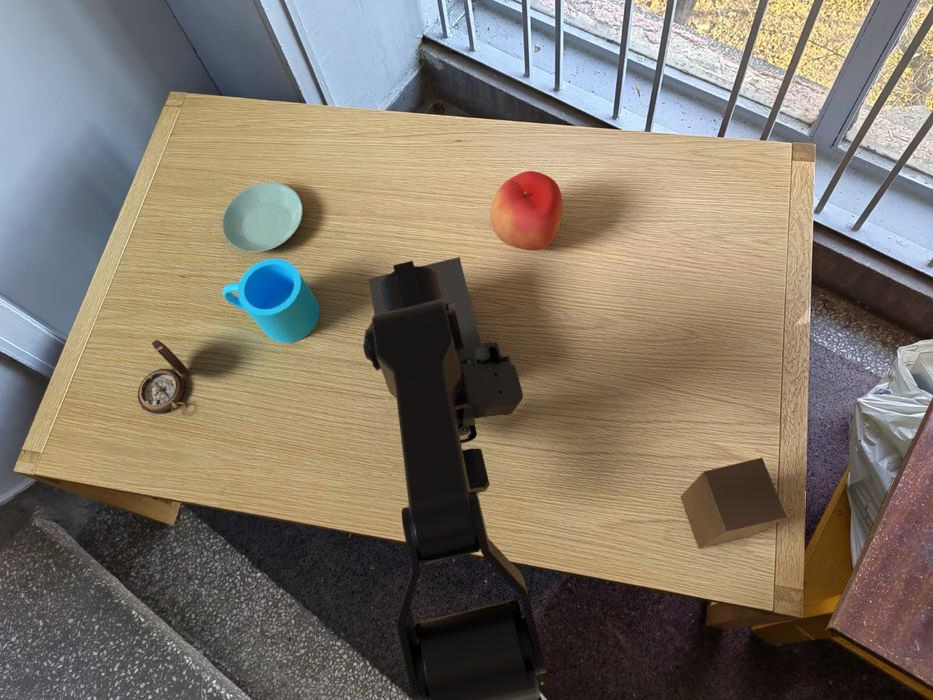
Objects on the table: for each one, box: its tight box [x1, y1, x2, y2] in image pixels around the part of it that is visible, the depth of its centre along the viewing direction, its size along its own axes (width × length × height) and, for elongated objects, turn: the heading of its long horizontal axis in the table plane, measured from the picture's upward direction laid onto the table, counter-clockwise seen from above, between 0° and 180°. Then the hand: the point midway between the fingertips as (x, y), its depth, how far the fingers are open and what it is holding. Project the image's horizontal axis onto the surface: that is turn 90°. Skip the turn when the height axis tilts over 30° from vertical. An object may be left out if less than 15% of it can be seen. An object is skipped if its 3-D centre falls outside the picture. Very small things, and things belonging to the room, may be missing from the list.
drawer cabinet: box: [367, 256, 482, 363], centre depth 85 cm, size 14×12×9 cm
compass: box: [137, 339, 191, 417], centre depth 86 cm, size 8×8×7 cm
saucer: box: [221, 182, 303, 253], centre depth 98 cm, size 12×12×2 cm
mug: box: [222, 258, 321, 344], centre depth 89 cm, size 12×8×8 cm
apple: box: [489, 170, 564, 251], centre depth 90 cm, size 10×10×10 cm
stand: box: [680, 457, 787, 549], centre depth 72 cm, size 6×6×12 cm
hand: (451, 434), depth 80 cm, fingers closed
